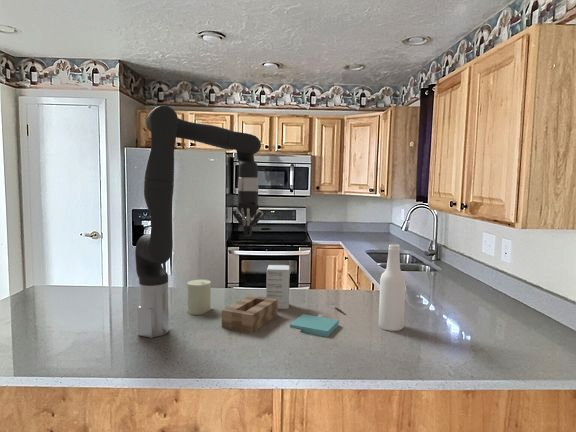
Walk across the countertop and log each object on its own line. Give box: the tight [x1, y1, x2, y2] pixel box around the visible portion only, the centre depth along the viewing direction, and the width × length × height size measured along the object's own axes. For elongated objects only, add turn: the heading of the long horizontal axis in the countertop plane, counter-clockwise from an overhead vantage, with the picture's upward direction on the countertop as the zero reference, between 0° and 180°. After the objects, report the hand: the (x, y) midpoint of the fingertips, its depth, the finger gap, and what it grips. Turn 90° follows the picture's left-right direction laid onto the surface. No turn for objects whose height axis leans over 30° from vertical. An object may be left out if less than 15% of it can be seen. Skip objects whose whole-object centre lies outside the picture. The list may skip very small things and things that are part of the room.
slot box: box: [221, 294, 279, 334], centre depth 145 cm, size 20×12×7 cm, turn 156°
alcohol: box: [378, 243, 407, 332], centre depth 143 cm, size 9×9×30 cm
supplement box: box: [265, 264, 291, 310], centre depth 163 cm, size 10×9×17 cm
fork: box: [325, 299, 347, 316], centre depth 164 cm, size 3×16×2 cm, turn 20°
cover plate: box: [289, 313, 340, 338], centre depth 142 cm, size 12×2×14 cm
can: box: [186, 279, 212, 316], centre depth 158 cm, size 9×9×12 cm
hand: (247, 235), depth 150 cm, fingers closed
